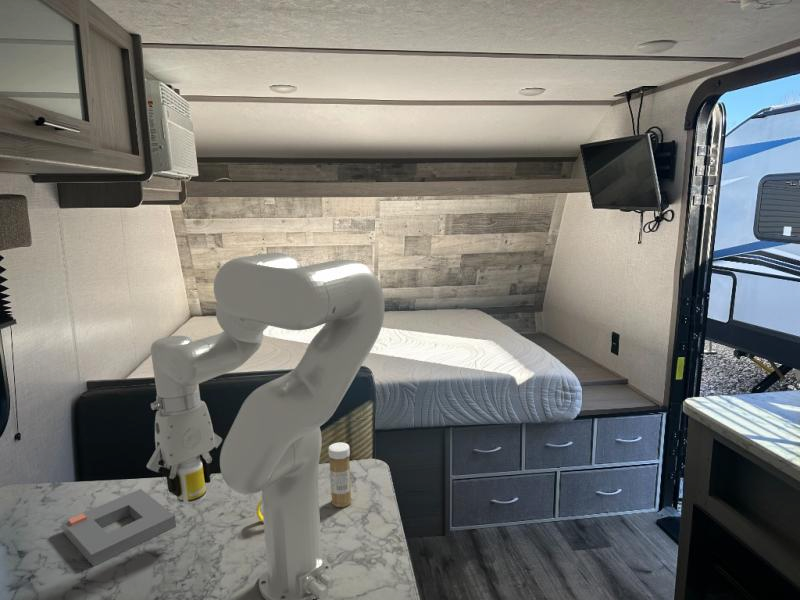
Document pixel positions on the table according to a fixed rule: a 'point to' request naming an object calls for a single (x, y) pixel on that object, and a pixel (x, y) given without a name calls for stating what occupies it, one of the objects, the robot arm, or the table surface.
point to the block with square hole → (107, 545)
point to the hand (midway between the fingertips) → (190, 486)
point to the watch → (259, 512)
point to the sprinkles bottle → (340, 474)
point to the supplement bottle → (191, 481)
